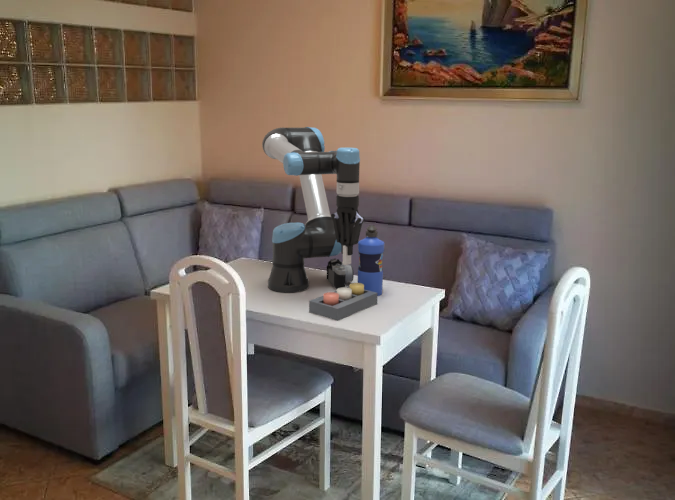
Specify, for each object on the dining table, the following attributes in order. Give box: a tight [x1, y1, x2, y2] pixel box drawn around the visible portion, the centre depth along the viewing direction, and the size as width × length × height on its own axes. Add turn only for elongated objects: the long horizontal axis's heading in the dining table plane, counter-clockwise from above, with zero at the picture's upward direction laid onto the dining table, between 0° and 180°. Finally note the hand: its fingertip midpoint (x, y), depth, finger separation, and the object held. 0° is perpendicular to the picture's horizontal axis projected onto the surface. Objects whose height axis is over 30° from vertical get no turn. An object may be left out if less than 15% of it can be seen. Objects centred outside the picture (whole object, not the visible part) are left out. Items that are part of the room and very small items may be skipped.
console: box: [308, 285, 379, 322], centre depth 226 cm, size 12×22×4 cm, turn 141°
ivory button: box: [336, 286, 352, 301], centre depth 225 cm, size 5×5×3 cm
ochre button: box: [349, 282, 364, 296], centre depth 231 cm, size 5×5×3 cm
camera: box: [326, 257, 355, 291], centre depth 251 cm, size 16×9×10 cm, turn 16°
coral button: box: [322, 291, 339, 306], centre depth 220 cm, size 5×5×3 cm
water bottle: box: [357, 224, 385, 297], centre depth 240 cm, size 9×9×25 cm
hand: (346, 263), depth 227 cm, fingers closed
